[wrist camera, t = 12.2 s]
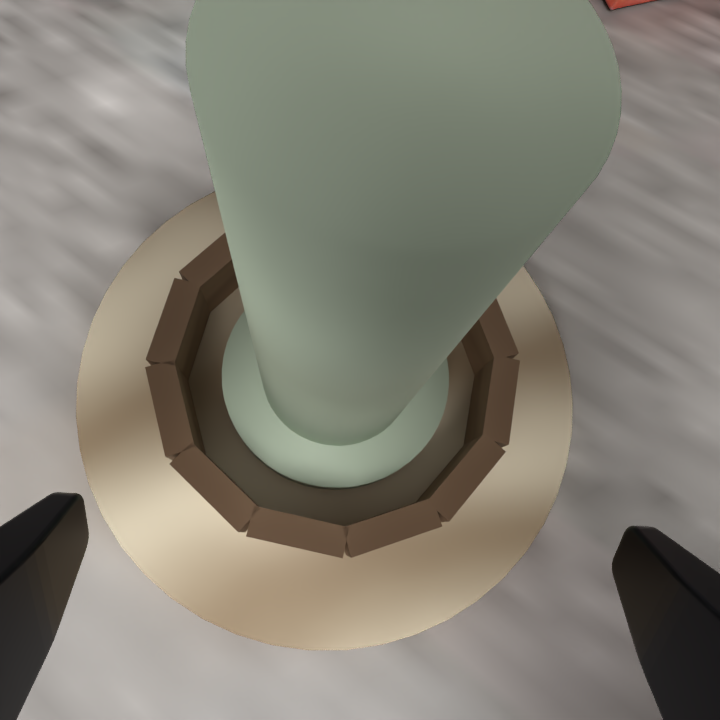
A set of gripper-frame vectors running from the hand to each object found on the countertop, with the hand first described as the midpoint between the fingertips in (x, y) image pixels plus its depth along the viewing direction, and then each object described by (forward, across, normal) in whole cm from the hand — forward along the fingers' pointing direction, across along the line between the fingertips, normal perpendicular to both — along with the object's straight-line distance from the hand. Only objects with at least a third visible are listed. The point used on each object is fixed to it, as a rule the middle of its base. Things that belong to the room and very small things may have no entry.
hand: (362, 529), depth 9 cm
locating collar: (+10, 0, +3) cm, 10 cm away
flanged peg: (+9, 0, +2) cm, 9 cm away
